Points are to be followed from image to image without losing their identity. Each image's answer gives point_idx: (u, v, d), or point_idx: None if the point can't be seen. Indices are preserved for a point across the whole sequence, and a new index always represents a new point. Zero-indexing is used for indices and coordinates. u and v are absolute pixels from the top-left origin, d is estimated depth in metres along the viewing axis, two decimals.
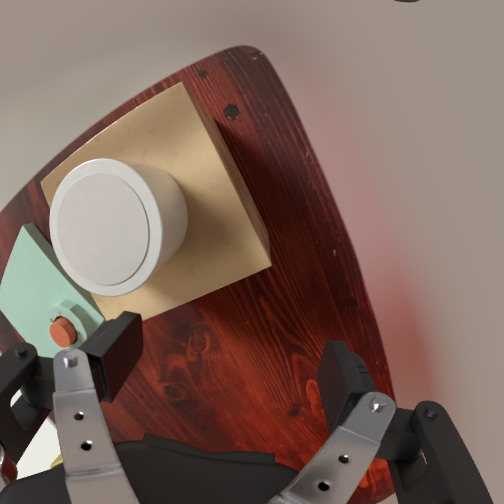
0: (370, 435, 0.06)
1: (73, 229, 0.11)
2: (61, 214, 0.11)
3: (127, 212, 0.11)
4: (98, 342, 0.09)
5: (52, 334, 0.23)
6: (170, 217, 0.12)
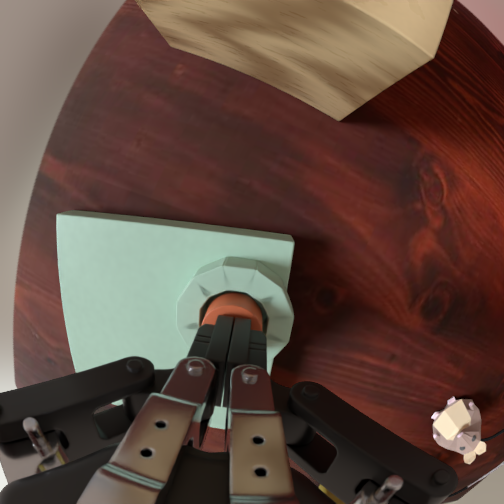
0: (261, 407, 0.07)
1: None
2: None
3: None
4: (212, 348, 0.10)
5: None
6: None
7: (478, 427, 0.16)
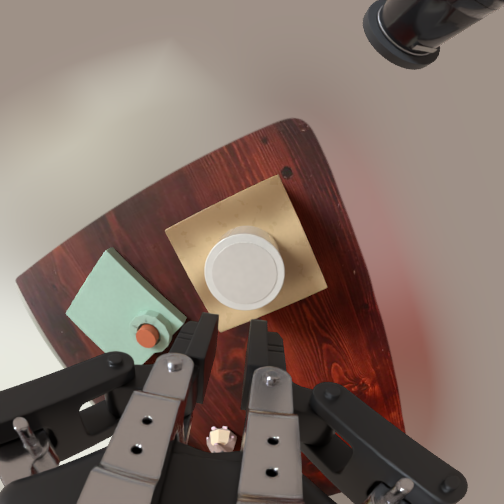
0: (280, 409, 0.07)
1: (225, 272, 0.21)
2: (215, 263, 0.21)
3: (264, 265, 0.21)
4: (193, 345, 0.10)
5: (138, 338, 0.34)
6: None
7: (228, 449, 0.39)
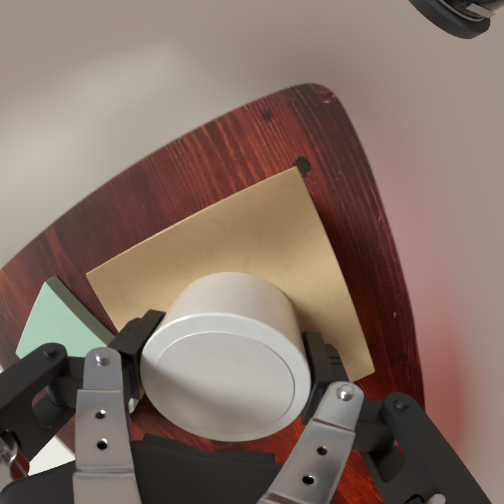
0: (343, 424, 0.06)
1: (181, 386, 0.09)
2: (159, 368, 0.09)
3: (266, 377, 0.09)
4: (128, 340, 0.09)
5: None
6: None
7: None
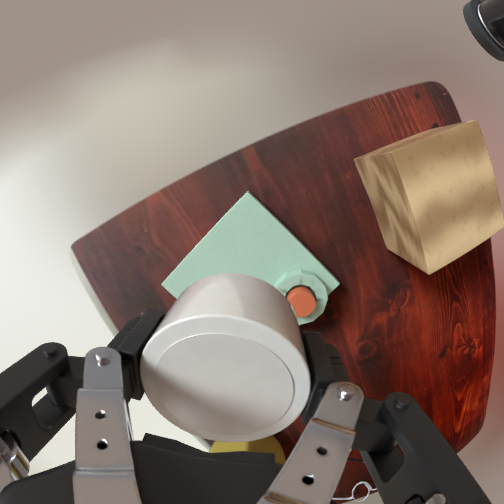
0: (343, 424, 0.06)
1: (181, 387, 0.09)
2: (159, 369, 0.09)
3: (266, 378, 0.09)
4: (128, 340, 0.09)
5: (291, 304, 0.28)
6: None
7: None
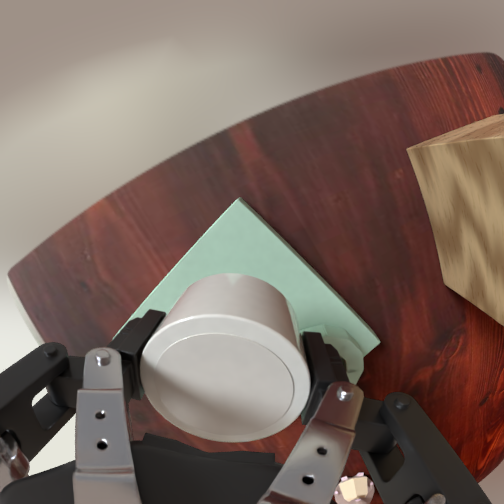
0: (343, 424, 0.06)
1: (182, 387, 0.09)
2: (159, 369, 0.09)
3: (266, 378, 0.09)
4: (128, 340, 0.09)
5: None
6: None
7: (369, 501, 0.22)
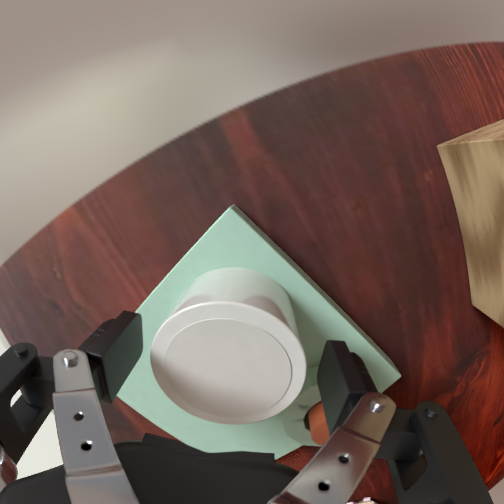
0: (370, 435, 0.06)
1: (189, 370, 0.10)
2: (168, 353, 0.10)
3: (266, 360, 0.10)
4: (98, 342, 0.09)
5: (318, 433, 0.12)
6: None
7: None
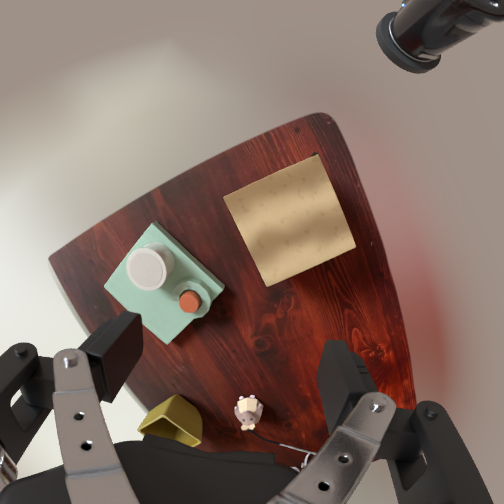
0: (370, 435, 0.06)
1: (136, 269, 0.37)
2: (131, 264, 0.37)
3: (155, 265, 0.37)
4: (98, 342, 0.09)
5: (181, 303, 0.39)
6: (168, 266, 0.38)
7: (256, 417, 0.45)
